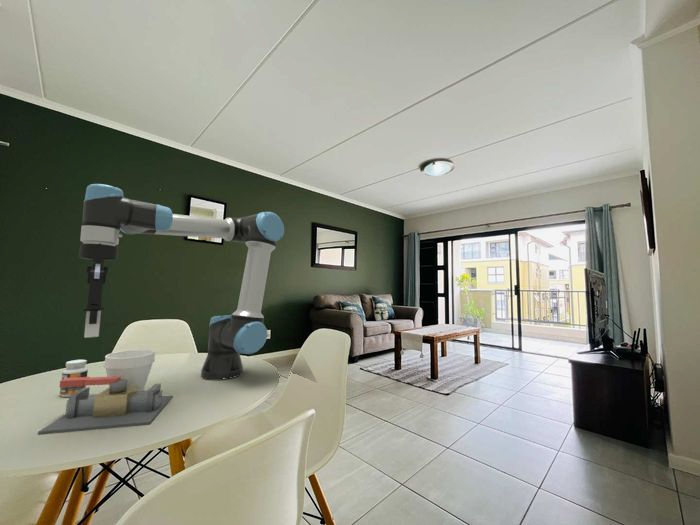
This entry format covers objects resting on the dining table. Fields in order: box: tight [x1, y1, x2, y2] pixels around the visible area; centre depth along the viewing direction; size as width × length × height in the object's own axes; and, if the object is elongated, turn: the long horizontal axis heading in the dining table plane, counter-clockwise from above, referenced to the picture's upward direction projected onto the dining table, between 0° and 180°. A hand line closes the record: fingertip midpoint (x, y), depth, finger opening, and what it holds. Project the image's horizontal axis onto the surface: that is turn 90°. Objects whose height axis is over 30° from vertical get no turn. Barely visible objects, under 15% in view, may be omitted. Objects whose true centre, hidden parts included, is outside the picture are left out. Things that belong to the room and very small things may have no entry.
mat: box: [37, 394, 174, 435], centre depth 76 cm, size 22×18×1 cm
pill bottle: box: [59, 359, 89, 398], centre depth 88 cm, size 6×6×10 cm
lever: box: [59, 376, 128, 392], centre depth 75 cm, size 14×4×3 cm, turn 104°
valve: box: [64, 383, 163, 419], centre depth 76 cm, size 20×7×6 cm, turn 106°
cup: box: [103, 348, 156, 391], centre depth 86 cm, size 12×12×14 cm
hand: (91, 336), depth 71 cm, fingers closed
